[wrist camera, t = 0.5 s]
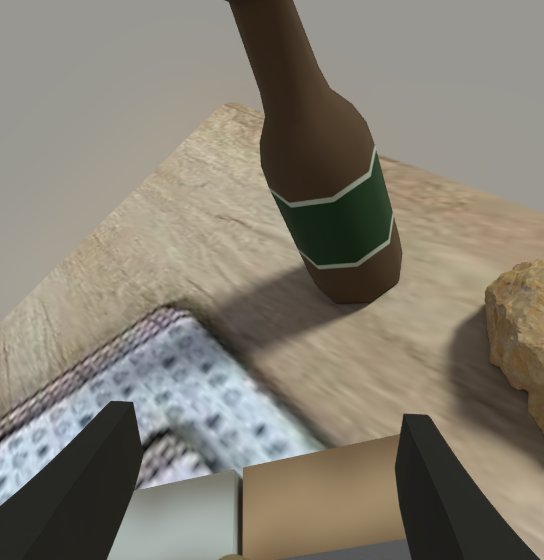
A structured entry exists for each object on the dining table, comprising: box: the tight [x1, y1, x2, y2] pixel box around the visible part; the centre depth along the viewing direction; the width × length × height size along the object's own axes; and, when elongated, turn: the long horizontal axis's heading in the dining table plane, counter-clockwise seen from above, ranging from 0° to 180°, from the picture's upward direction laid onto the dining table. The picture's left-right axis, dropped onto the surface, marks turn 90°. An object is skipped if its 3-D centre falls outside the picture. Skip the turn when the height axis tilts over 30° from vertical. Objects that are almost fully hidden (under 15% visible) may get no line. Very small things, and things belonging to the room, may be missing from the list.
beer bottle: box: [225, 0, 402, 304], centre depth 33 cm, size 8×8×24 cm
